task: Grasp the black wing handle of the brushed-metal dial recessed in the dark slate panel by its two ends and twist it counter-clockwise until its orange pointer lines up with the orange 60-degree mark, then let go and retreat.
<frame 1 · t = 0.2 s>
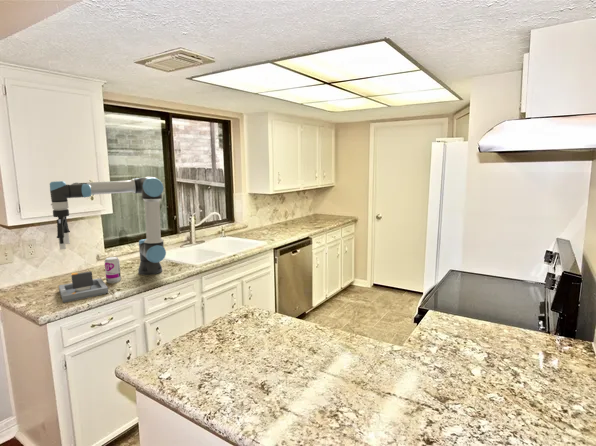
hand: (65, 246, 207), 27 cm above the worktop, fingers open, 13 cm apart
supplement can: (113, 281, 231), on the worktop
dial: (82, 281, 210), point 7 cm above the worktop, hinge at 0.0°
dial panel: (83, 292, 211), on the worktop
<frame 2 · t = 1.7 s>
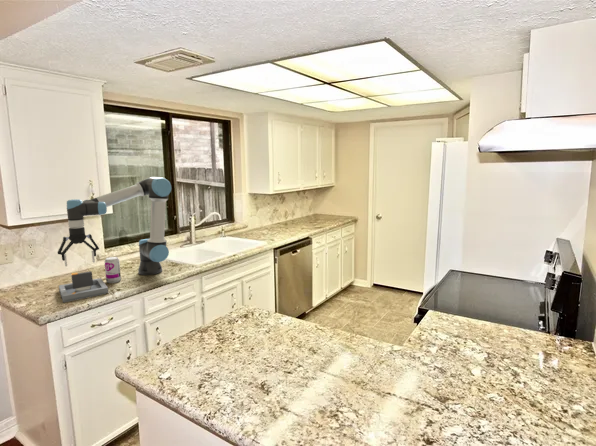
hand: (80, 263, 208), 17 cm above the worktop, fingers open, 13 cm apart
nothing on the worktop moved.
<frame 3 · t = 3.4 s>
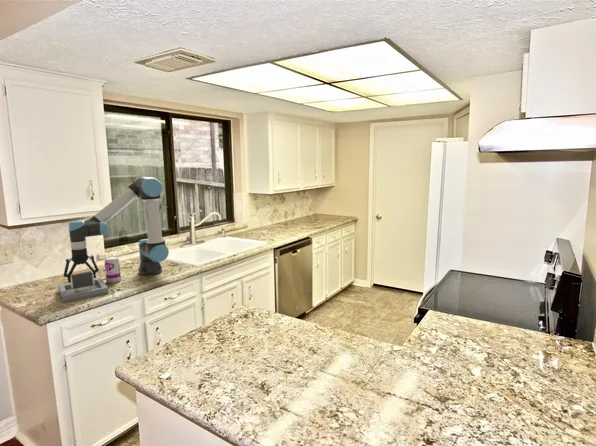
hand: (82, 285, 211), 4 cm above the worktop, fingers closed on dial, 10 cm apart
dial: (82, 281, 210), point 7 cm above the worktop, hinge at 0.1°, touching gripper
everything else where it was.
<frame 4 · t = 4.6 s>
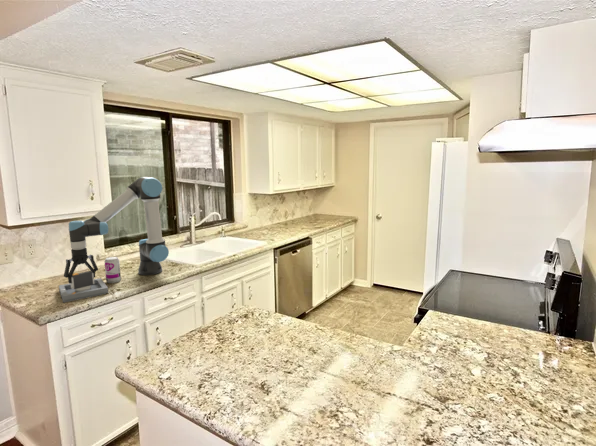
hand: (82, 285, 211), 4 cm above the worktop, fingers closed on dial, 10 cm apart
dial: (82, 281, 210), point 7 cm above the worktop, hinge at 13.3°, touching gripper
everything else where it was.
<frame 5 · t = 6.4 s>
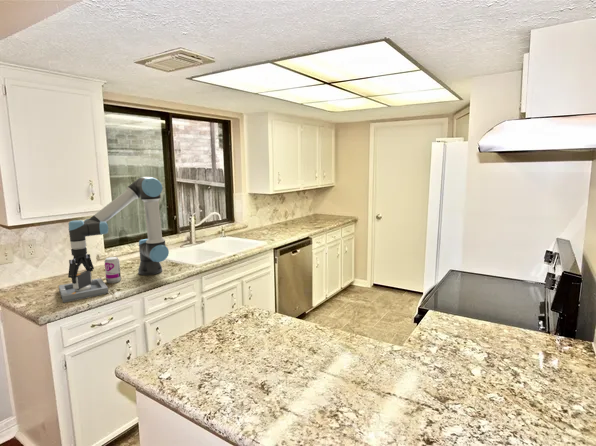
hand: (82, 285, 211), 4 cm above the worktop, fingers closed on dial, 10 cm apart
dial: (82, 281, 210), point 7 cm above the worktop, hinge at 42.9°, touching gripper
everything else where it was.
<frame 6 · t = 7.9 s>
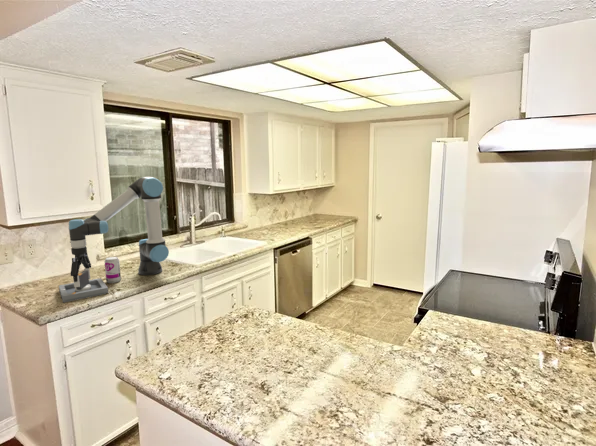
hand: (82, 282, 210), 6 cm above the worktop, fingers open, 13 cm apart
dial: (82, 281, 210), point 7 cm above the worktop, hinge at 58.5°
everything else where it was.
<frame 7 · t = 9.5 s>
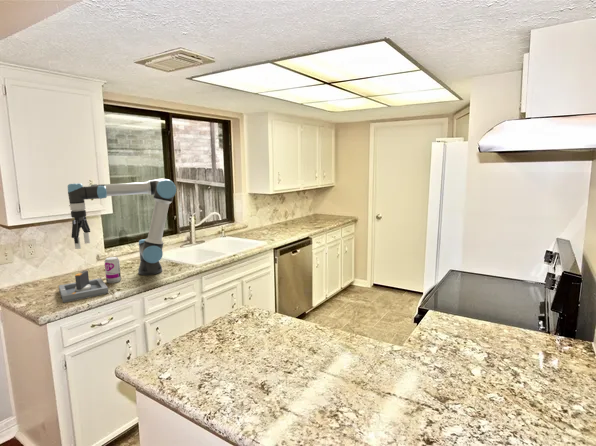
hand: (82, 245, 216), 25 cm above the worktop, fingers open, 13 cm apart
nothing on the worktop moved.
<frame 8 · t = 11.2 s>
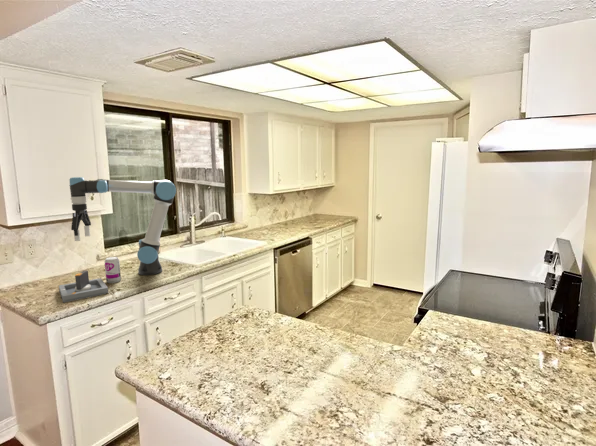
hand: (82, 238, 221), 29 cm above the worktop, fingers open, 13 cm apart
nothing on the worktop moved.
at the end: dial at +59° (first picture: +0°); the gripper is holding nothing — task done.
